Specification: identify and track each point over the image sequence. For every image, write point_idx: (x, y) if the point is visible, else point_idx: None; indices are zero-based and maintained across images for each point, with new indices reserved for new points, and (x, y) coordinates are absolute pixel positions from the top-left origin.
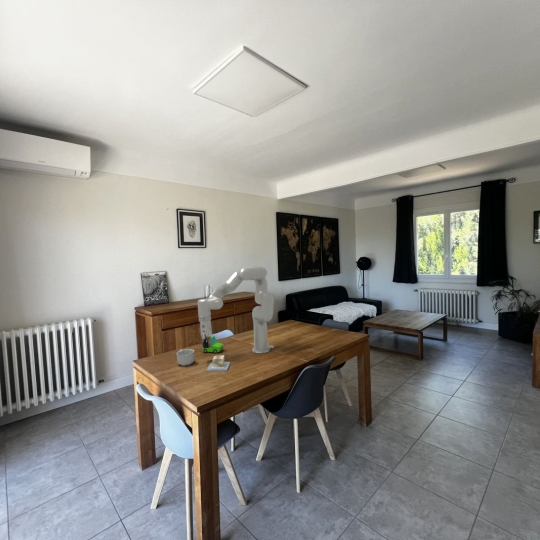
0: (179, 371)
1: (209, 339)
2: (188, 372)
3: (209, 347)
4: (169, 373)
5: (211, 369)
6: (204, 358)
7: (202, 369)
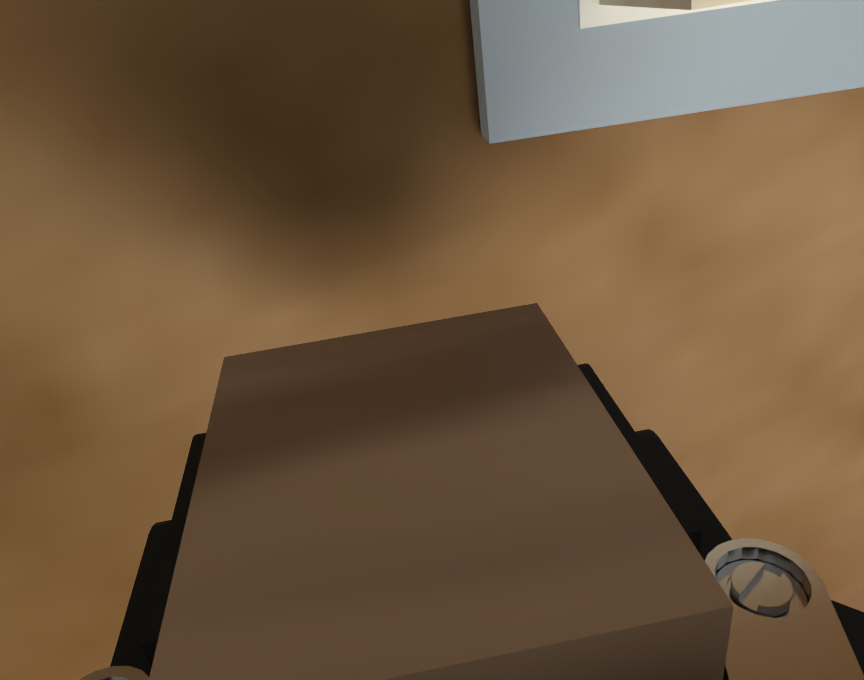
0: (785, 507)
1: (666, 564)
2: (848, 375)
3: (543, 330)
4: (831, 582)
5: None
6: (188, 397)
7: (757, 201)
